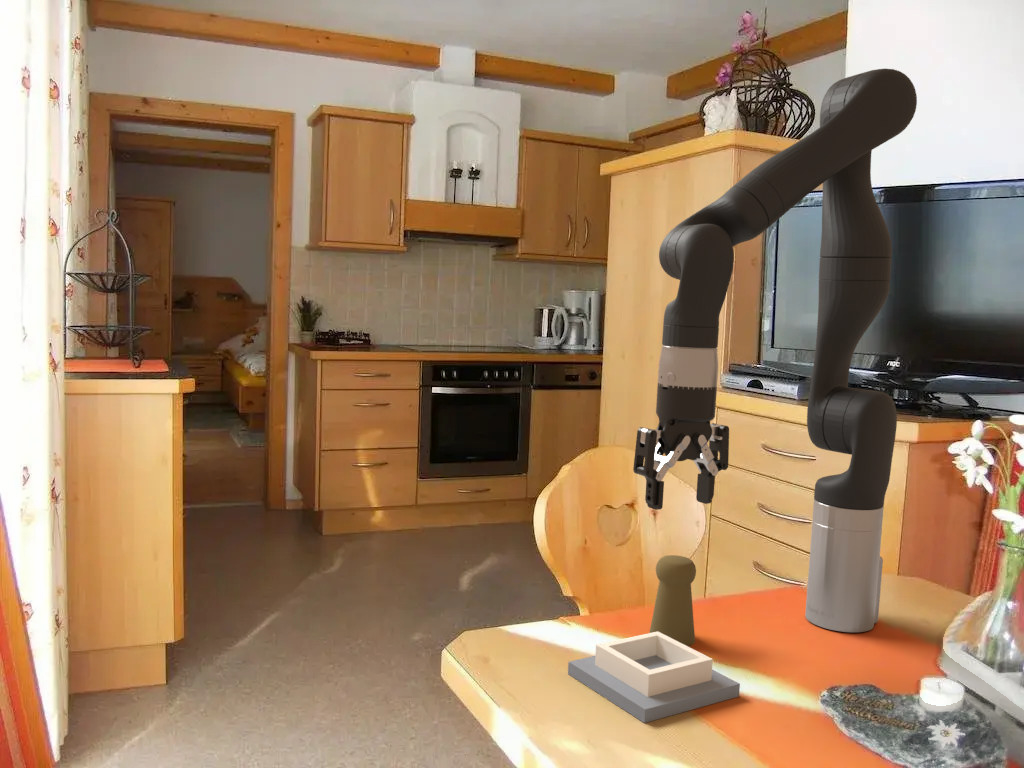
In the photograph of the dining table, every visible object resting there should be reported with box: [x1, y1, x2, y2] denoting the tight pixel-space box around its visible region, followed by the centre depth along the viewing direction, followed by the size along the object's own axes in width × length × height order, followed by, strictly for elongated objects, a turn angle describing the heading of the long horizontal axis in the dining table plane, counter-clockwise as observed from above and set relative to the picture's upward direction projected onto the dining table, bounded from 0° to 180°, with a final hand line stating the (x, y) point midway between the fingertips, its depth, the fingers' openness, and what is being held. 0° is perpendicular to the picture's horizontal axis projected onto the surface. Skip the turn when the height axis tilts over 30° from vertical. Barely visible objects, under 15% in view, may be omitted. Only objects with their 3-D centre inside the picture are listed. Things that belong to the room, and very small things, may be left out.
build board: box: [567, 631, 741, 724], centre depth 108 cm, size 14×14×4 cm
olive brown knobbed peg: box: [649, 554, 697, 647], centre depth 122 cm, size 6×6×11 cm
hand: (679, 505), depth 121 cm, fingers open, 8 cm apart
